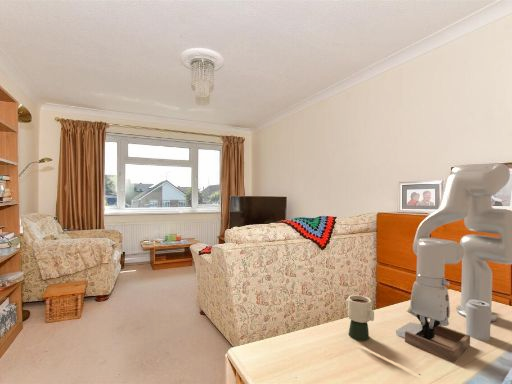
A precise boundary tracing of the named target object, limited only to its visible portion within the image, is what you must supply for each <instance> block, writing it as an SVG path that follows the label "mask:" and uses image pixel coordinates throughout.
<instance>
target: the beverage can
mask: <svg viewBox="0 0 512 384" xmlns="http://www.w3.org/2000/svg"><path fill="white" fill-rule="evenodd" d="M491 312H492V307H491V308H490V307H489V304H488V303H486V302H483V301H480V300H474V299H470V300H468V302H467V304H466V317H465V334H466V335H469V336H470V338H472V339H476V340H479V341H484V342H485V341H490V340H491V322H492V321H491Z"/></svg>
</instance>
